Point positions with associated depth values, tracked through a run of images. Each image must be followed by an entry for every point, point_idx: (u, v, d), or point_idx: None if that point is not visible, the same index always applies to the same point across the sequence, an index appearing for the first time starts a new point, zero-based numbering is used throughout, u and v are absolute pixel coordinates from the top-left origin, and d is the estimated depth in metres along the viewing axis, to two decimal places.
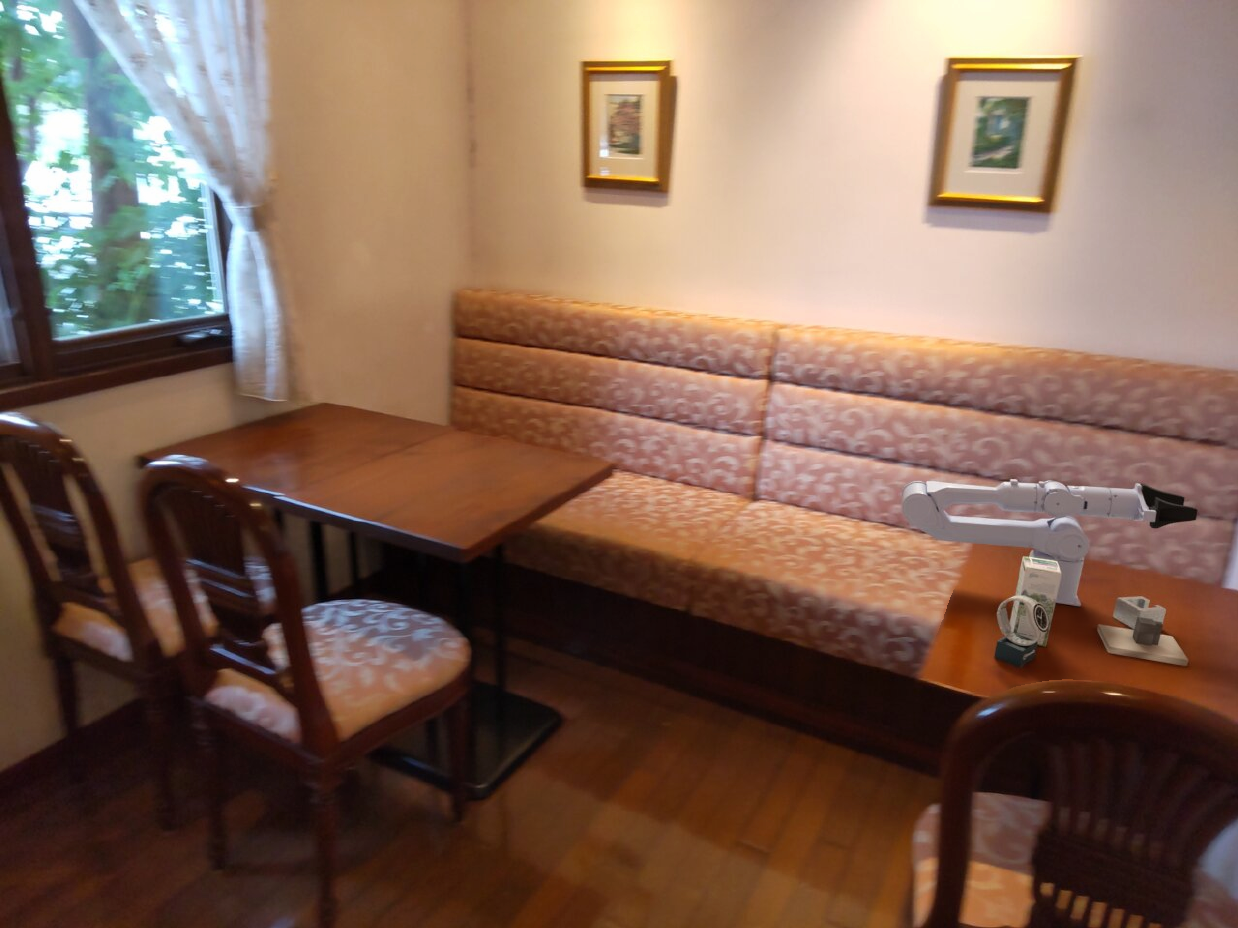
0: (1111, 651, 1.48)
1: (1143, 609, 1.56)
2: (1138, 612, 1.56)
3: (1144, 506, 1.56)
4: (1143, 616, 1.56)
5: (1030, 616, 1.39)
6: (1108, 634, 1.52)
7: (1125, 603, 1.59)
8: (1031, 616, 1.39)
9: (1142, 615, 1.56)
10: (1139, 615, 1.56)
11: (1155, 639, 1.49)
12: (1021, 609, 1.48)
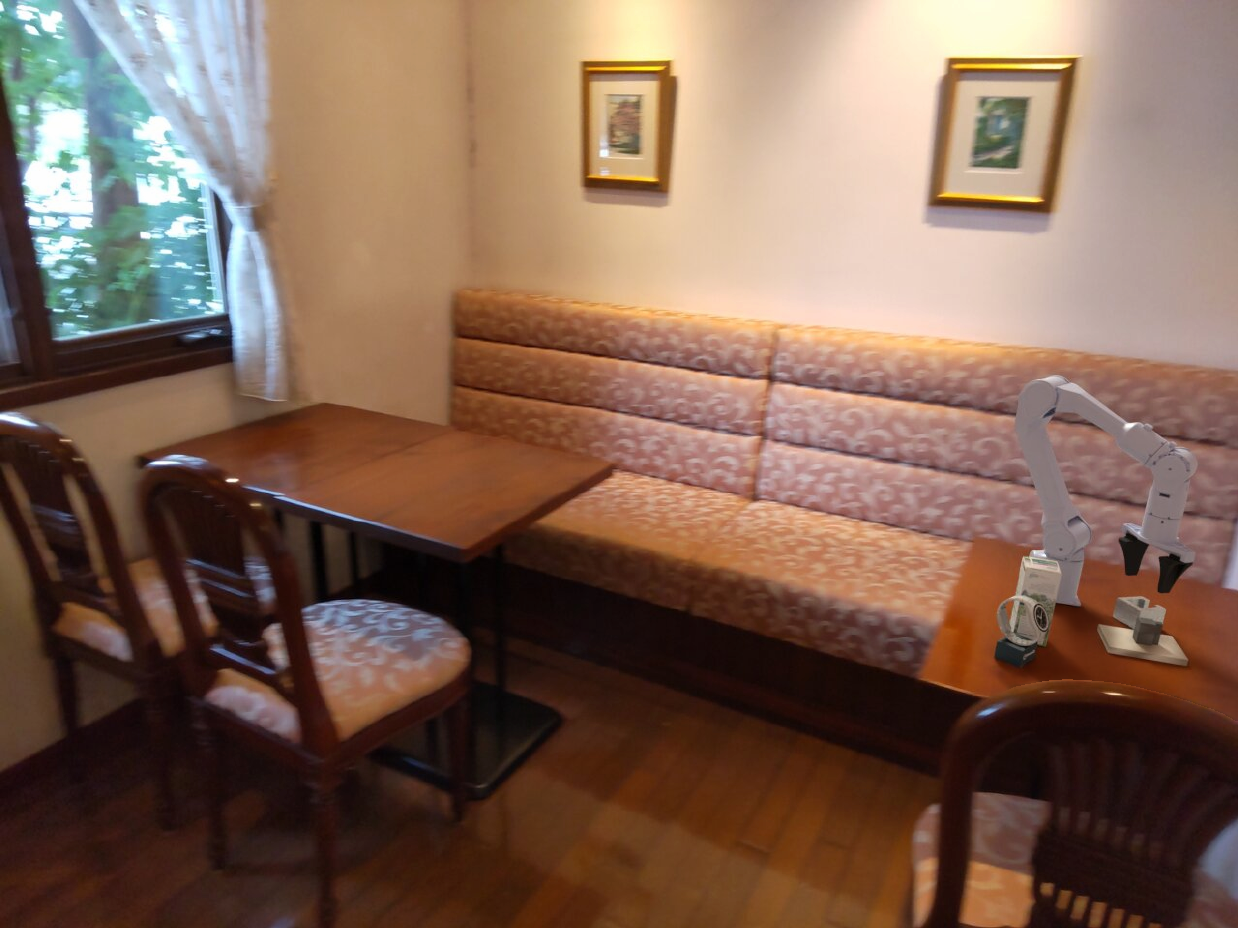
0: (1111, 651, 1.48)
1: (1143, 609, 1.56)
2: (1138, 612, 1.56)
3: (1188, 550, 1.50)
4: (1143, 616, 1.56)
5: (1030, 616, 1.39)
6: (1108, 634, 1.52)
7: (1125, 603, 1.59)
8: (1031, 616, 1.39)
9: (1142, 615, 1.56)
10: (1139, 615, 1.56)
11: (1155, 639, 1.49)
12: (1021, 609, 1.48)
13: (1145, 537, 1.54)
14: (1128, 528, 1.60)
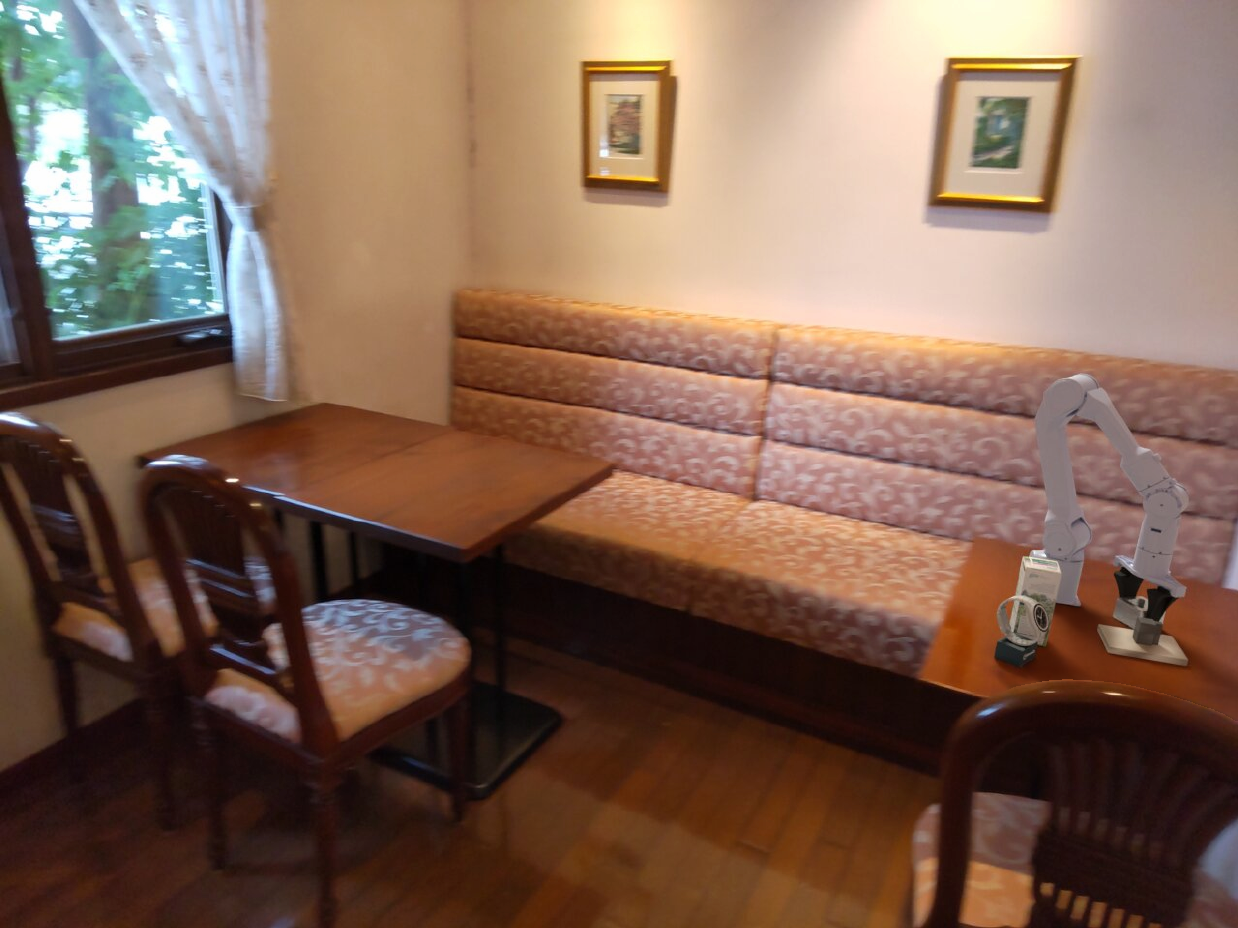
0: (1111, 651, 1.48)
1: (1143, 609, 1.56)
2: (1138, 612, 1.56)
3: (1179, 584, 1.52)
4: (1143, 616, 1.56)
5: (1030, 616, 1.39)
6: (1108, 634, 1.52)
7: (1125, 603, 1.59)
8: (1031, 616, 1.39)
9: (1142, 615, 1.56)
10: (1139, 615, 1.56)
11: (1155, 639, 1.49)
12: (1021, 609, 1.48)
13: (1137, 571, 1.56)
14: (1120, 561, 1.62)
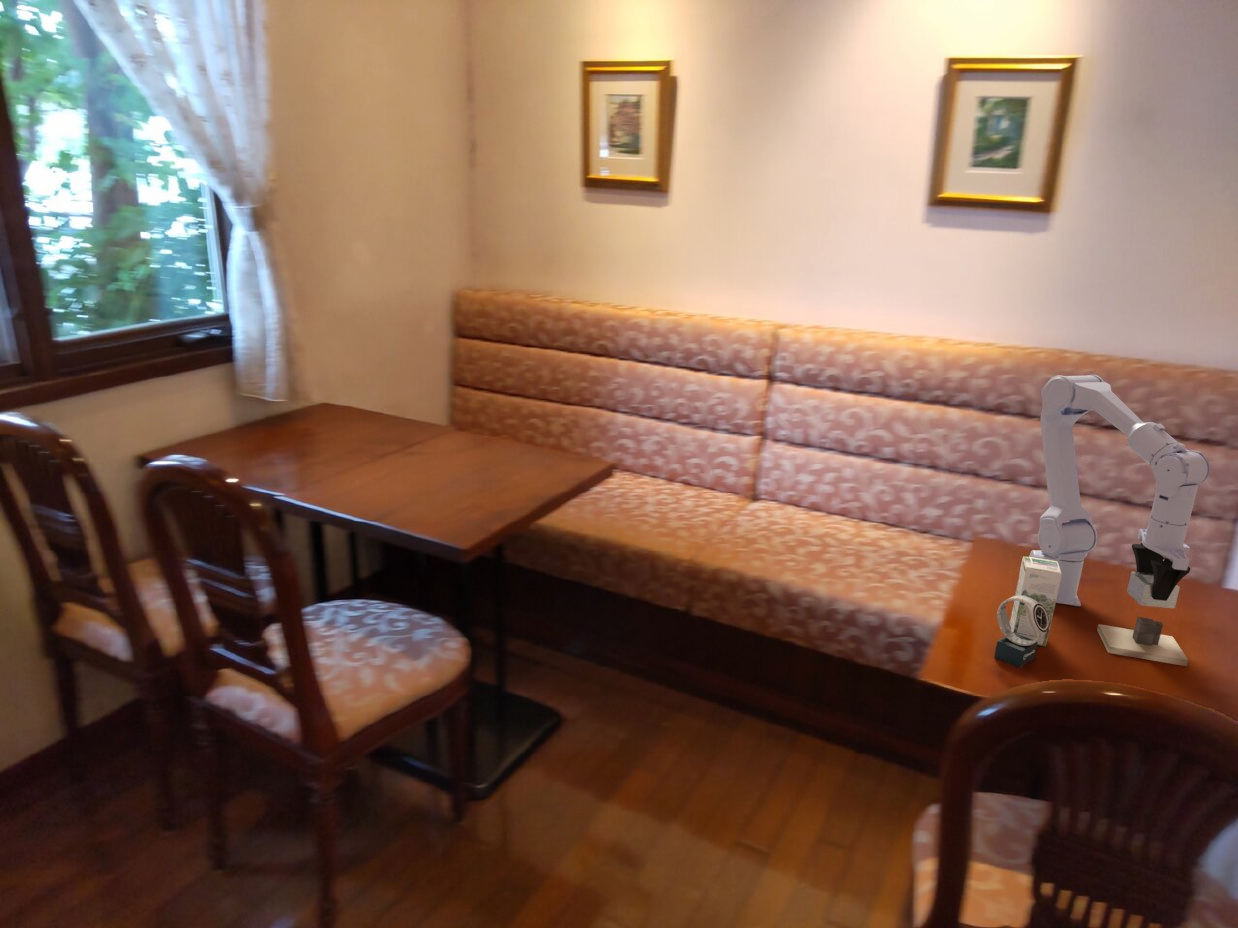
0: (1111, 651, 1.48)
1: (1150, 584, 1.48)
2: (1143, 585, 1.48)
3: None
4: (1149, 590, 1.48)
5: (1030, 616, 1.39)
6: (1108, 634, 1.52)
7: (1136, 577, 1.51)
8: (1031, 616, 1.39)
9: (1148, 589, 1.48)
10: (1144, 589, 1.48)
11: (1155, 639, 1.49)
12: (1021, 609, 1.48)
13: (1146, 541, 1.48)
14: (1141, 533, 1.53)
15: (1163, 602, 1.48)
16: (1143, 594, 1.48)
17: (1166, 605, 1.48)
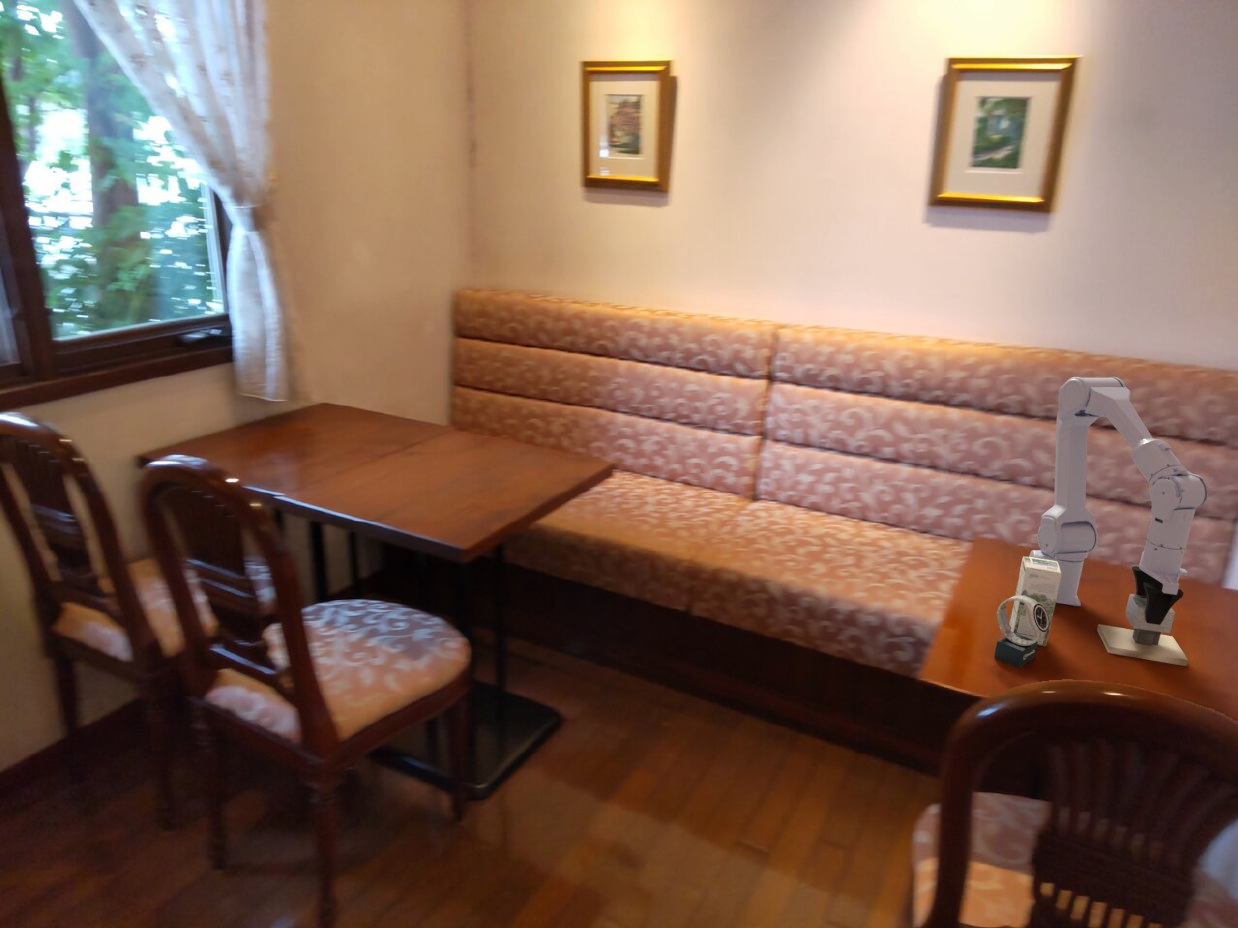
0: (1111, 651, 1.48)
1: (1144, 607, 1.46)
2: (1136, 608, 1.47)
3: (1177, 582, 1.41)
4: (1142, 613, 1.46)
5: (1030, 616, 1.39)
6: (1108, 634, 1.52)
7: (1132, 599, 1.50)
8: (1031, 616, 1.39)
9: (1141, 612, 1.46)
10: (1137, 611, 1.47)
11: (1155, 639, 1.49)
12: (1021, 609, 1.48)
13: (1141, 564, 1.47)
14: None
15: (1157, 626, 1.46)
16: (1136, 617, 1.47)
17: (1160, 629, 1.46)
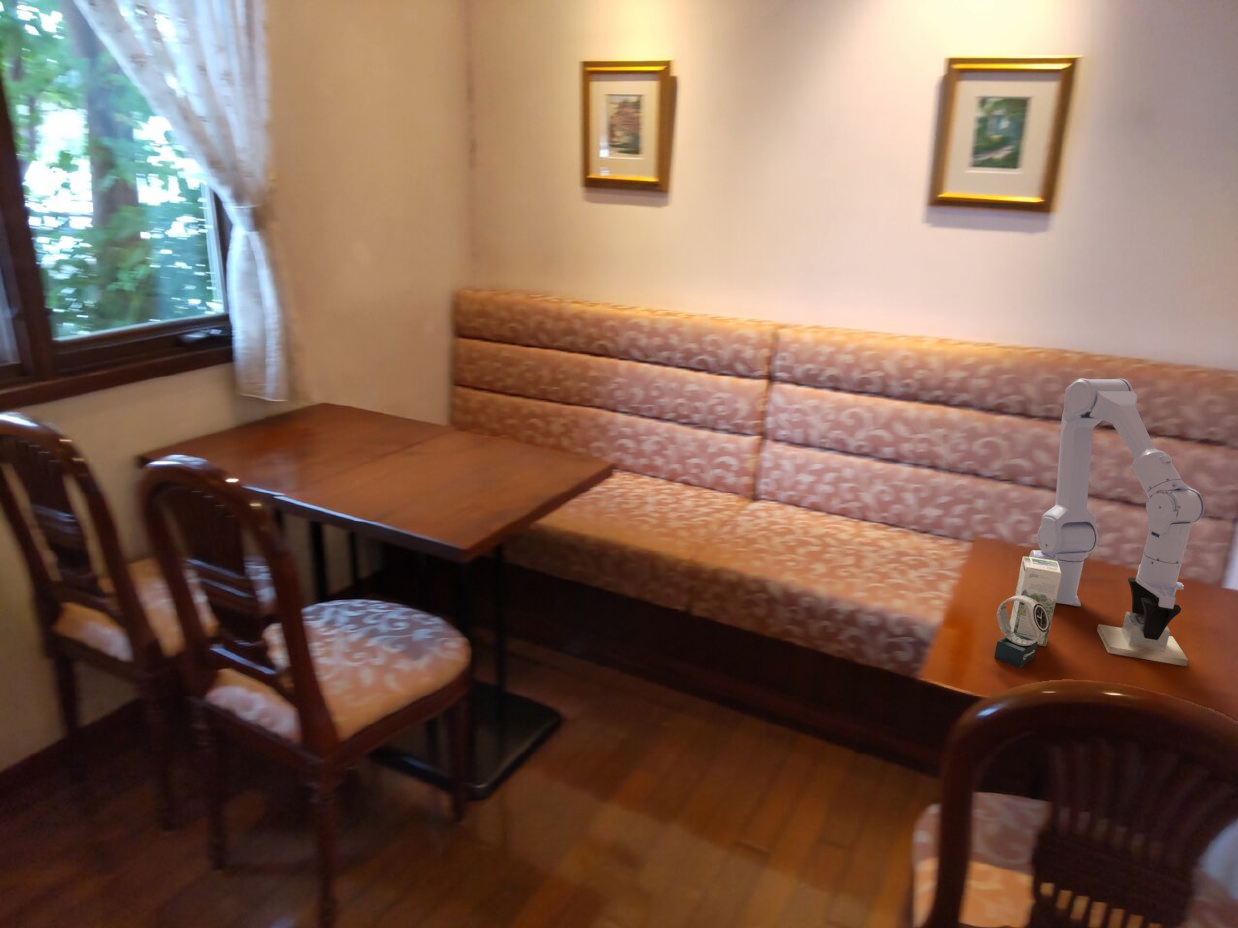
0: (1111, 651, 1.48)
1: (1139, 625, 1.47)
2: (1132, 626, 1.48)
3: (1174, 596, 1.42)
4: (1137, 632, 1.47)
5: (1030, 616, 1.39)
6: (1108, 634, 1.52)
7: (1128, 617, 1.51)
8: (1031, 616, 1.39)
9: (1136, 630, 1.47)
10: (1132, 629, 1.48)
11: None
12: (1021, 609, 1.48)
13: (1138, 577, 1.47)
14: None
15: (1152, 644, 1.47)
16: (1132, 635, 1.48)
17: (1156, 648, 1.47)
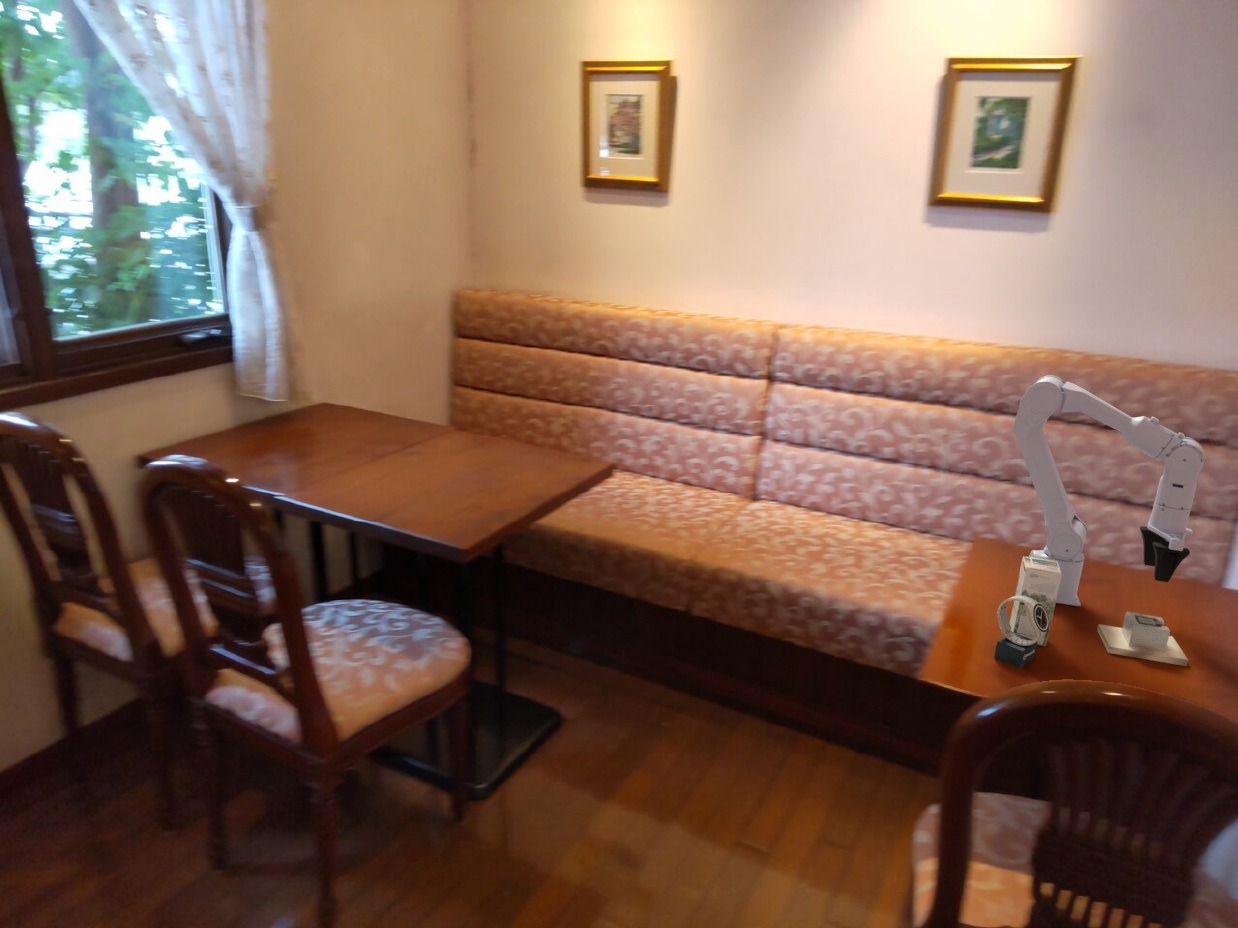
0: (1111, 651, 1.48)
1: (1139, 625, 1.47)
2: (1132, 626, 1.48)
3: None
4: (1137, 632, 1.47)
5: (1030, 616, 1.39)
6: (1108, 634, 1.52)
7: (1128, 617, 1.51)
8: (1031, 616, 1.39)
9: (1136, 630, 1.47)
10: (1132, 629, 1.48)
11: None
12: (1021, 609, 1.48)
13: (1149, 524, 1.57)
14: None
15: (1152, 644, 1.47)
16: (1132, 635, 1.48)
17: (1156, 648, 1.47)
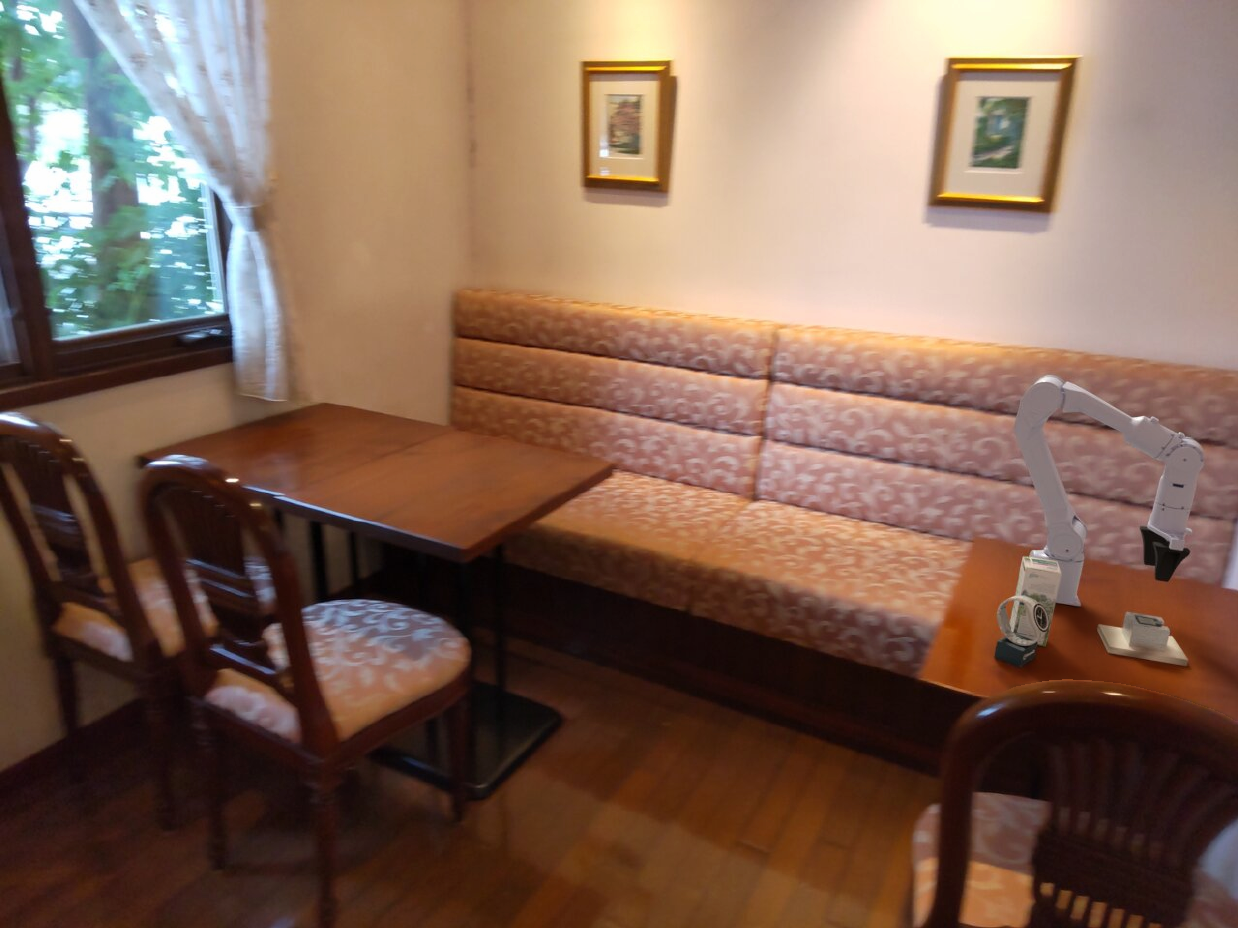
0: (1111, 651, 1.48)
1: (1139, 625, 1.47)
2: (1132, 626, 1.48)
3: (1183, 539, 1.52)
4: (1137, 632, 1.47)
5: (1030, 616, 1.39)
6: (1108, 634, 1.52)
7: (1128, 617, 1.51)
8: (1031, 616, 1.39)
9: (1136, 630, 1.47)
10: (1132, 629, 1.48)
11: None
12: (1021, 609, 1.48)
13: (1149, 523, 1.58)
14: None
15: (1152, 644, 1.47)
16: (1132, 635, 1.48)
17: (1156, 648, 1.47)
